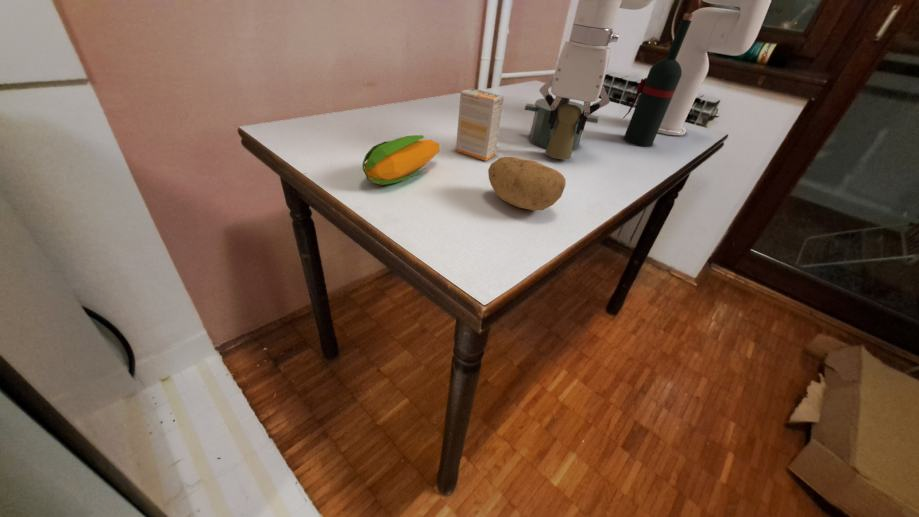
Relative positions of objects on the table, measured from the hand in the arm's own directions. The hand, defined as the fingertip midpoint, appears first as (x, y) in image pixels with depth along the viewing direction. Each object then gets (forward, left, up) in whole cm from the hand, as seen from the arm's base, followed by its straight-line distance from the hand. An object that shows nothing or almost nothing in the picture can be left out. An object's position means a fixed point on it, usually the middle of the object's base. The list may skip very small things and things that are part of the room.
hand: (564, 129), depth 82 cm
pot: (-11, -2, -7) cm, 13 cm away
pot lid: (-11, -2, +2) cm, 11 cm away
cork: (0, 0, -6) cm, 6 cm away
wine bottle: (-26, +19, -7) cm, 33 cm away
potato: (+27, -4, -7) cm, 28 cm away
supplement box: (+8, -18, -7) cm, 21 cm away
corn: (+26, -28, -7) cm, 38 cm away
